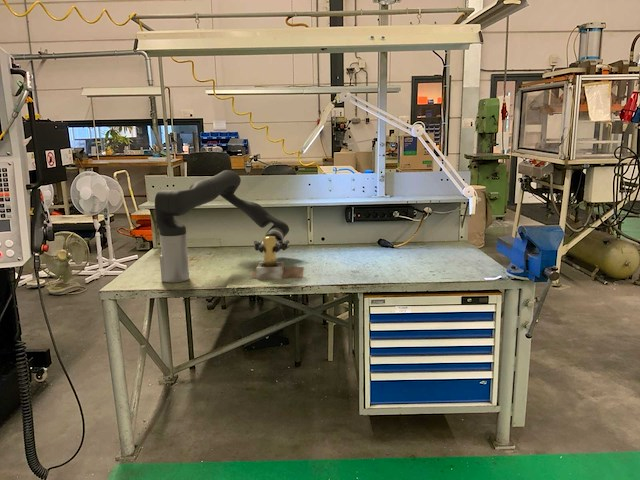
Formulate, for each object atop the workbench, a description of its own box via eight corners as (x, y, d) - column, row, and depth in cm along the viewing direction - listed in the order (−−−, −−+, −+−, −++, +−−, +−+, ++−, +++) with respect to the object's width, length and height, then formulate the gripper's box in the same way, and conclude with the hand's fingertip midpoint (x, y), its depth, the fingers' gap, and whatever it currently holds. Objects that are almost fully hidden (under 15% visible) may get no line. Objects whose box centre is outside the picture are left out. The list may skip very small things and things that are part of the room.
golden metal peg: (263, 275, 176) (262, 238, 173) (265, 272, 180) (263, 236, 177) (275, 275, 175) (274, 238, 173) (276, 272, 180) (275, 235, 177)
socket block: (250, 281, 174) (249, 268, 173) (256, 269, 189) (255, 257, 188) (302, 281, 173) (302, 267, 172) (304, 269, 189) (303, 257, 188)
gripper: (255, 231, 189) (248, 239, 172) (291, 230, 189) (288, 239, 172) (255, 249, 190) (249, 260, 174) (291, 249, 190) (288, 259, 174)
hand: (268, 249), depth 173 cm, fingers open, 5 cm apart
